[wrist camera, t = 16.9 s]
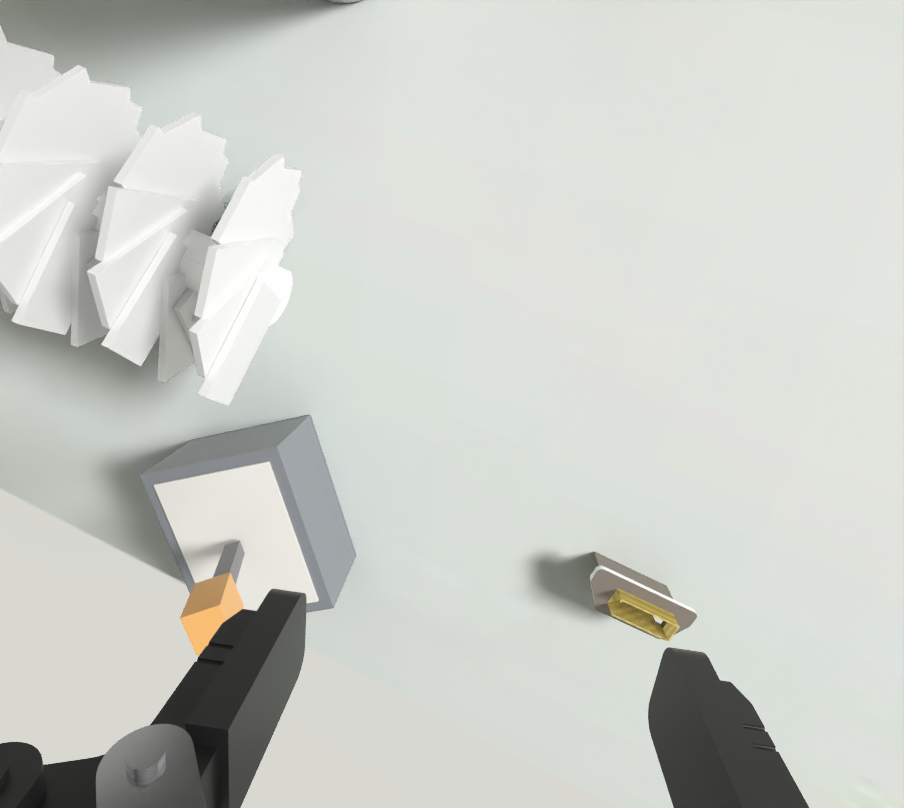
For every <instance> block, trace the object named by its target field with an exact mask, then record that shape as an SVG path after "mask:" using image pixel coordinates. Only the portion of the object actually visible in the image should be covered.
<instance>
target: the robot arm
mask: <svg viewBox="0 0 904 808" xmlns="http://www.w3.org/2000/svg"><path fill="white" fill-rule="evenodd" d="M329 1H332V2H339V3H350V2H356V1H360V0H329ZM306 603H307V599H306V594H305V593H300V592H294V591H287V590H280V589H271V590H270V591H269V592H268V594H267V595H266V597H265V599H264V600H263V602H262V603H261V605H260V606H259V608H258V610H257V611H254V610H247V609H242V610H240V611H239V612H237V613H236V614H235V615H233V616H232V617H230V618H229V619H228V620H226V621H225V622H223V623H222V624H221V626H220V627H219V629H218V630H217V631H216V633H215V634H214V636H213V637H212V638H211V640H210V641H209V644H208V646H206V647H205V648H204V650H203V651H202V653H201V654H200V656H199V657H198V660H197V662H195V663H194V664H193V665H192V667H191V668H190V670H189V671H188V673H187V674H186V675H185V677H184V678H183V680H182V681H181V683H180V684H179V685H178V687H177V688H176V690H175V691H174V692H173V694H172V695H171V697H170V698H169V700H168V701H167V702H166V704H165V705H164V707H163V708H162V709H161V711H160V713H159V714H158V715H157V717H156V718H155V719H154V721H153V722H152V723H151V725H150V726H147V727H143V728H141V729H138V730H136V731H134V732H132V733H130V734H128V735H126V736H125V737H123V738H122V739H120V740H119V741H118V742H117V743H116V744H114V745H113V746H112V747H111V748H110V749H109V750H108V752H107V753H106V754H105V755H102V756H99V757H94V758H88V759H82V760H75V761H68V762H61V763H55V764H48V765H43V762H42V757H41V754H40V752H39V751H38V749H36V748H35V747H34V746H32V745H30V744H27V743H22V742H8V743H2V744H0V808H240V807H241V805H242V803H243V800H244V798H245V796H246V794H247V791H248V789H249V787H250V785H251V782H252V780H253V778H254V776H255V773H256V771H257V769H258V767H259V764H260V762H261V760H262V758H263V755H264V753H265V751H266V749H267V746H268V744H269V742H270V740H271V737H272V735H273V732H274V731H275V728H276V726H277V724H278V722H279V719H280V717H281V715H282V713H283V710H284V708H285V706H286V704H287V701H288V699H289V697H290V695H291V692H292V690H293V688H294V686H295V683H296V681H297V679H298V676H299V673H300V670H301V666H302V662H303V657H304V650H305V649H304V648H305V628H306ZM648 720H649V729H650V733H651V737H652V740H653V743H654V746H655V750H656V753H657V756H658V759H659V762H660V765H661V769H662V772H663V775H664V778H665V781H666V784H667V787H668V791H669V794H670V797H671V800H672V803H673V806H674V808H809V807H808V805H807V803H806V801H805V799H804V798H803V796H802V794H801V792H800V790H799V789H798V787H797V785H796V783H795V781H794V779H793V778H792V776H791V774H790V772H789V770H788V769H787V767H786V765H785V763H784V761H783V760H782V758H781V756H780V754H779V752H776V750H775V745H774V743H773V742H772V740H771V738H770V736H769V734H768V733H767V732H765V730H764V725H763V723H762V722H761V720H760V718H759V716H758V714H757V713H756V711H755V709H754V707H753V705H752V704H751V703H750V702H749V701H748V700H747V699H746V697H745V696H744V695H743V694H742V693H741V692H740V691H739V690H738V689H737V688H736V687H735V686H734V685H733V684H732V683H731V682H726V681H720V680H719V678H718V676H717V674H716V672H715V670H714V668H713V666H712V664H711V662H710V660H709V658H708V657H707V655H706V654H705V653H703V652H697V651H690V650H683V649H676V648H670V647H669V648H666V650H665V651H664V653H663V656H662V659H661V663H660V667H659V670H658V674H657V677H656V681H655V684H654V688H653V691H652V695H651V698H650V702H649V710H648Z"/></svg>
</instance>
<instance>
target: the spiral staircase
mask: <svg viewBox="0 0 904 808" xmlns="http://www.w3.org/2000/svg"><path fill="white" fill-rule="evenodd" d="M130 94H131V88H130V87H128V86H125V85H120V84H113V83H105V82H99V81H90V79H89V76H88V73H87V70H86V68H84V67H82V66H80V65H77V66H75V67H74V68H72V69H71V70H69V71H67V72H66V73H64V74H63V75H62V74H60V73H59V72H57V71H56V70H55V69H54V55H52V54H50V53H47V52H43V51H40V50H36V49H32V48H29V47H25V46H21V45H18V44H14V43H11V42H7V40H6V38H5V35H4V33H3V30H2V28H1V25H0V300H1V304H2V307H3V311H4V312H6V313H9V314H11V313H13V312H15V311H16V312H15V314H14V316H13V319H12V322H15V323H17V324H20V325H24V326H28V327H33V328H37V329H41V330H46V331H50V332H54V333H58V334H63V335H66V333H67V331H68V328H69V326H70V324H71V345H73V346H75V347H79V346H82V345H84V344H86V343H89V342H91V341H93V340H96V339H98V338H100V337H103V336H105V335H107V336H106V337H105V339H104V341H103V342H102V344H101V345H102V346H104V347H106V348H108V349H109V350H111V351H113V352H115V353H117V354H118V355H120V356H122V357H124V358H125V359H127V360H129V361H131V362H132V363H134V364H136V365H139V366H142V364H143V362H144V361H145V359H146V357H147V355H148V354H149V352H150V350H151V349H152V347H153V345H154V344H155V342H156V340H157V338H158V337H159V357H158V377H157V381H159V382H161V383H163V384H164V383H165V382H167V381H168V380H170V379H171V378H172V377H174V376H175V375H177V374H178V373H180V372H181V371H182V370H184V369H185V368H187V367H188V366H190V365H191V364H192V363H194V362H195V363H196V368H197V373H198V375H199V376H201V377H203V378H206V379H205V381H204V383H203V385H202V387H201V389H200V391H199V393H198V394H199V395H201V396H203V397H206V398H209V399H211V400H214V401H217V402H220V403H222V404H225V405H228V406H229V405H230V403H231V401H232V399H233V397H234V395H235V393H236V391H237V389H238V387H239V385H240V383H241V381H242V379H243V377H244V375H245V373H246V371H247V369H248V367H249V365H250V363H251V361H252V359H253V357H254V355H255V353H256V351H257V349H258V347H259V345H260V343H261V341H262V339H263V337H264V335H265V333H266V331H267V329H268V327H269V325H272V324H273V323H274V322H275V321H276V320H277V319H278V318H279V317H280V315H281V314H282V312H283V311H284V309H285V307H286V305H287V302H288V300H289V297H290V294H291V289H292V274H291V272H290V271H288V270H285V269H283V268H281V267H279V265H280V260H281V259H282V258H283V257H284V249H285V248H286V246H287V245H288V244H289V242H290V241H291V239H292V238H293V237H294V231H293V222H292V210H293V208H294V205H295V203H296V200H297V198H298V196H299V193H300V191H301V188H300V186H299V182H300V178H301V174H302V171H301V170H299V169H297V168H291V167H285V166H284V155H282V154H280V153H278V152H277V153H276V154H274V155H273V156H272V157H271V158H270V159H268V160H267V161H266V162H265V163H264V164H262V165H261V166H260V167H259V168H258V169H257V170H255V171H254V172H253V173H252V174H251V175H249V176H248V177H245V176H243V178H242V180H241V182H240V183H239V185H238V187H237V189H236V191H235V193H234V195H233V197H232V198H231V200H230V202H229V204H228V206H227V208H226V210H225V207H224V202H223V197H222V192H221V186H220V181H221V178H222V176H223V174H224V172H225V170H226V167H227V165H228V163H229V160H228V159H227V158H226V157H225V156H224V150H225V146H226V142H227V140H226V139H224V138H222V137H219V136H216V135H214V134H211V133H208V132H206V131H203V130H202V123H201V114H198V113H196V112H192V113H190V114H188V115H186V116H184V117H182V118H180V119H178V120H176V121H174V122H172V123H170V124H168V125H166V126H164V127H162V128H159V127H158V126H156V125H153V124H150V126H149V127H148V129H147V130H146V132H145V133H144V135H143V137H142V138H141V137H140V135H139V133H138V131H137V126H138V123H139V119H140V116H141V113H142V110H143V108H141V107H140V106H138V105H137V104H135V103H133V102H132V101H130ZM221 216H222V217H221ZM220 218H221V219H220ZM219 219H220V221H219V223H218V225H217V227H216V229H215V230H214V232H213V234H212V227H213V225H214V224H215V223H216V222H217V221H218V220H219ZM211 234H212V236H211ZM159 335H160V336H159Z"/></svg>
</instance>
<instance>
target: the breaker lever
mask: <svg viewBox="0 0 904 808" xmlns="http://www.w3.org/2000/svg"><path fill="white" fill-rule="evenodd" d="M244 554H245V552H244V550H243V547H242V545H241V542H240V540H239V541H236V542H233V543H230V544H227V545H225V546H224V549H223V551H222V554H221V557H220V559H219V562H218V565H217V567H216V570H215V573H214V575H213V578H210V579H207V580H204V581H201V582H198V583H195V584H194V587H193V589H192V591H191V594H190V596H189V598H188V601H187V603H186V605H185V608H184V610H183V613H182V615H181V617H180V619H181V621H182V624H183V626H184V628H185V631H186V633H187V635H188V637H189V639H190V641H191V644H192V646H193V649H194V651H195V653H196V655H199V654H201V653H202V651H203V650H204V648H205V647H206V646H208V644H209V641H210V640H211V638H212V637H213V636H214V634H215V633H216V631H217V630H218V629H219V627H220V626H221V624H222V623H223V622H225V621H226V620H228V619H229V618H230V617H232V616H233V615H235V614H236V613H237V612H239V611H240V610H242V609H243V608H244V605H243V602H242V600H241V597H240V595H239V592H238V590H237V587H236V582H237V578H238V575H239V571H240V568H241V565H242V561H243V558H244Z"/></svg>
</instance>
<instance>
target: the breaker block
mask: <svg viewBox="0 0 904 808" xmlns="http://www.w3.org/2000/svg"><path fill="white" fill-rule="evenodd" d="M139 476H140V479H141V481H142V483H143V486H144V488H145V490H146V493H147V495H148V497H149V500H150V502H151V504H152V506H153V509H154V511H155V513H156V516H157V518H158V520H159V523H160V525H161V527H162V530H163V532H164V534H165V537H166V539H167V541H168V544H169V546H170V548H171V551H172V553H173V555H174V558H175V560H176V562H177V565H178V567H179V569H180V571H181V574H182V576H183V578H184V581H185V583H186V585H187V588H188V590H189V592H190V594H191V591H192V589H193V587H194V584H195V583H198V582H201V581H204V580H207V579H210V578H213V575H214V573H215V570H216V567H217V565H218V562H219V559H220V557H221V554H222V551H223V549H224V546H225V545H227V544H230V543H233V542H236V541H239V540H240V542H241V545H242V547H243V550H244V552H245V554H244V558H243V561H242V565H241V568H240V571H239V575H238V578H237V582H236V587H237V590H238V592H239V595H240V597H241V600H242V602H243V605H244V608H243V609H247V610H254V611H257V610H258V608H259V606H260V605H261V603H262V602H263V600H264V599H265V597H266V595H267V594H268V592H269V591H270V590H271V589H280V590H287V591H294V592H300V593H305V594H306V599H307V603H306V612H312V611H319V610H325V609H331V608H334V605H335V603H336V601H337V599H338V596H339V594H340V592H341V589H342V587H343V585H344V582H345V580H346V578H347V575H348V573H349V571H350V569H351V566H352V564H353V562H354V559H355V557H356V553H355V550H354V547H353V544H352V541H351V538H350V535H349V532H348V529H347V526H346V523H345V520H344V516H343V513H342V510H341V507H340V504H339V501H338V498H337V495H336V492H335V489H334V486H333V483H332V480H331V476H330V473H329V470H328V467H327V464H326V461H325V458H324V455H323V452H322V449H321V446H320V443H319V440H318V437H317V433H316V430H315V427H314V424H313V421H312V418H311V415H306V416H302V417H297V418H292V419H287V420H283V421H278V422H273V423H269V424H264V425H259V426H255V427H250V428H245V429H240V430H236V431H231V432H226V433H222V434H217V435H212V436H207V437H203V438H198V439H193V440H191V441H189V442H188V443H186V444H185V445H183V446H182V447H180V448H179V449H177V450H176V451H174V452H173V453H171V454H170V455H168V456H167V457H165V458H164V459H162V460H161V461H159V462H158V463H156V464H155V465H153V466H152V467H150V468H149V469H148V470H146V471H145V472H143V473H142V474H140V475H139Z"/></svg>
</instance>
